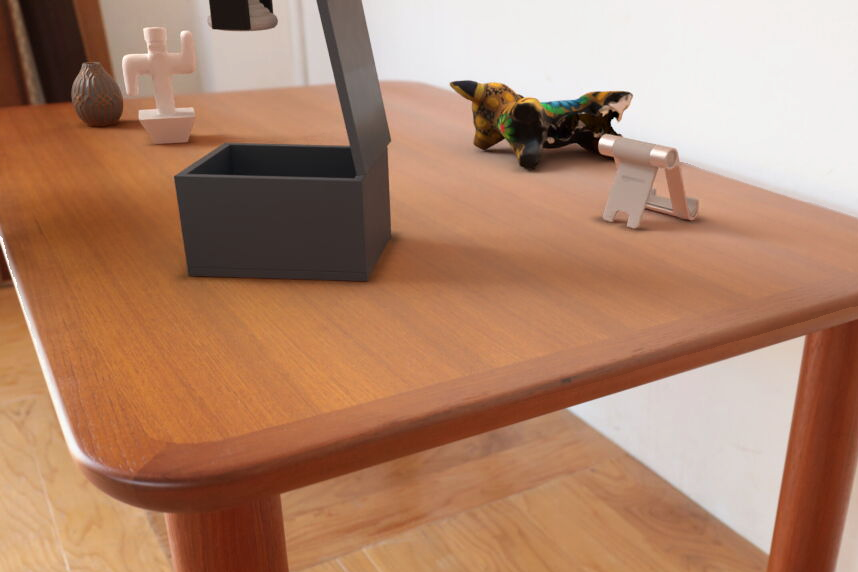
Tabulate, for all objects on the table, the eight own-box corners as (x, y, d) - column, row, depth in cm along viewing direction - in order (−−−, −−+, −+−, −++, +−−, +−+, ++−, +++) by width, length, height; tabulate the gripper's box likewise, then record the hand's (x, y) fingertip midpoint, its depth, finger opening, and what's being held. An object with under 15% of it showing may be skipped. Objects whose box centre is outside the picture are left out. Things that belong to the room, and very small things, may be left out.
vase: (102, 130, 130) (91, 67, 126) (66, 126, 132) (54, 64, 128) (136, 121, 136) (127, 61, 132) (101, 117, 138) (90, 58, 134)
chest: (188, 276, 77) (173, 175, 74) (235, 231, 89) (224, 142, 85) (367, 281, 77) (361, 180, 73) (391, 235, 88) (387, 146, 84)
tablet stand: (697, 219, 95) (706, 140, 91) (652, 234, 90) (659, 151, 86) (633, 202, 100) (639, 126, 97) (587, 215, 95) (591, 136, 92)
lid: (306, -40, 66) (429, -61, 65) (343, -45, 78) (447, -63, 77) (356, 176, 73) (468, 159, 72) (383, 142, 84) (480, 127, 83)
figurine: (134, 136, 127) (116, 24, 120) (204, 132, 130) (190, 23, 123) (134, 147, 120) (114, 30, 114) (207, 143, 123) (192, 28, 117)
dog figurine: (625, 189, 120) (549, 151, 133) (651, 97, 116) (570, 67, 129) (505, 178, 109) (434, 138, 121) (529, 75, 104) (453, 45, 117)
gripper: (214, -381, 52) (255, 40, 62) (298, -307, 68) (320, 15, 78) (87, -382, 52) (148, 37, 62) (201, -308, 69) (235, 13, 78)
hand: (244, 24), depth 70 cm, fingers closed on chess piece, 5 cm apart
